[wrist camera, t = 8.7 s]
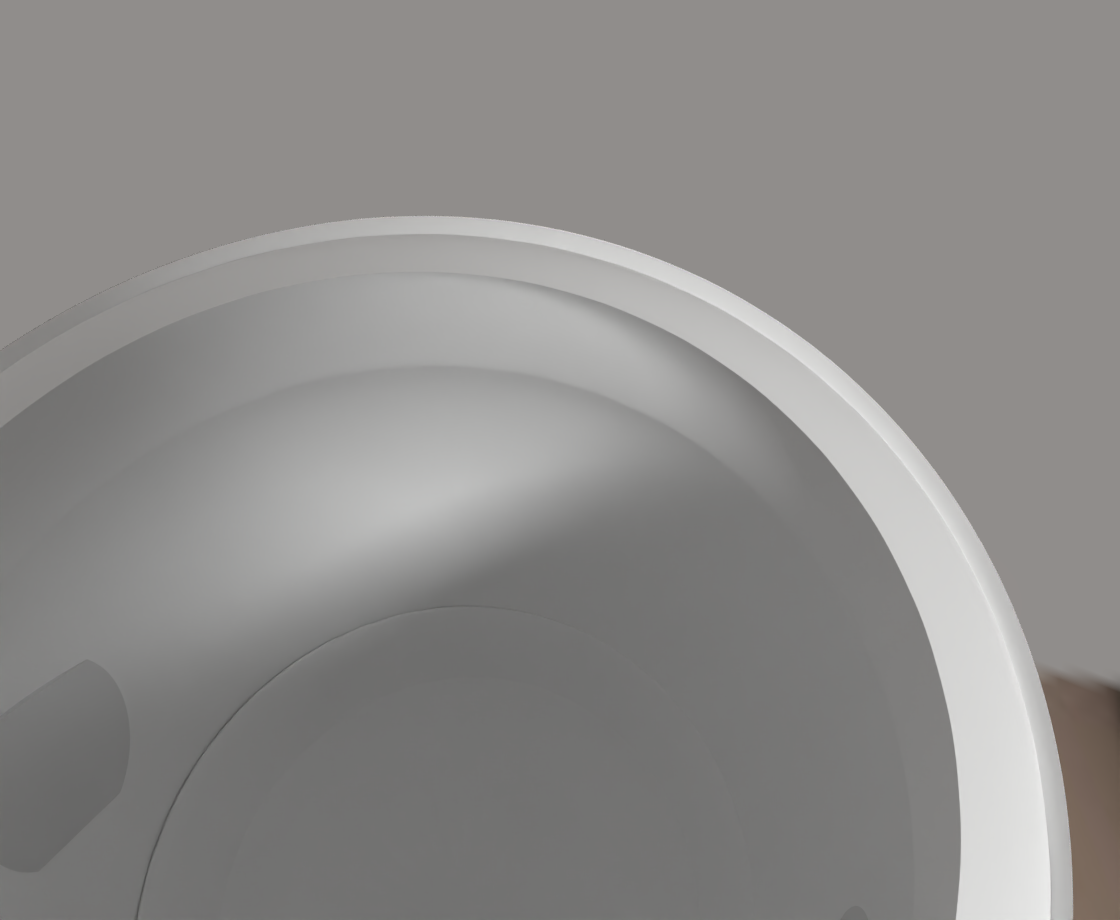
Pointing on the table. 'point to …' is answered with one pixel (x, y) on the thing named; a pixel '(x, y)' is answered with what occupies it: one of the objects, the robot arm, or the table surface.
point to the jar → (506, 600)
